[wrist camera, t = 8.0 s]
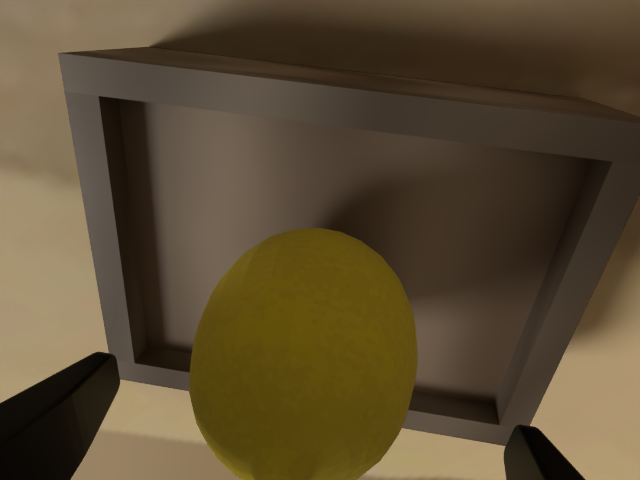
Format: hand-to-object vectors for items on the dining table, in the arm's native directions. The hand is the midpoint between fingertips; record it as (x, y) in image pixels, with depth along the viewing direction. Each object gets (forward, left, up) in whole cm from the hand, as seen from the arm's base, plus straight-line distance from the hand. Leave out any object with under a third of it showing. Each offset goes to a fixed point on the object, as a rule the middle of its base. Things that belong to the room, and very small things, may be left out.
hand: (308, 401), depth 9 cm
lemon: (0, 0, -6) cm, 6 cm away
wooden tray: (0, 0, -10) cm, 10 cm away
